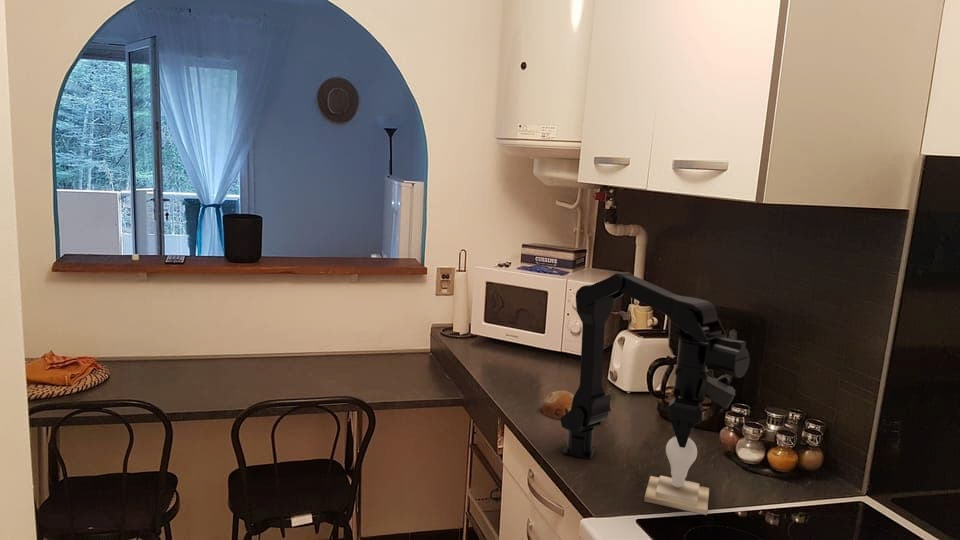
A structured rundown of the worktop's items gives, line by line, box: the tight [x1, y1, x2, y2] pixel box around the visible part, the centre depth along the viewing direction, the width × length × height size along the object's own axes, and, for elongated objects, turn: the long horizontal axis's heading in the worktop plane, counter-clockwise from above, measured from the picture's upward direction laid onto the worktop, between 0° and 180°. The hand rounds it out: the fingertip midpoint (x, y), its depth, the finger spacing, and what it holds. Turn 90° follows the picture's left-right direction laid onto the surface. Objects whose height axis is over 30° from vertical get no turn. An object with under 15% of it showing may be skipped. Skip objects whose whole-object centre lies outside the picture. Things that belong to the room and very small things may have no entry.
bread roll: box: [541, 390, 575, 421], centre depth 180 cm, size 10×10×8 cm
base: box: [643, 475, 710, 516], centre depth 138 cm, size 10×12×2 cm
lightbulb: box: [665, 435, 698, 488], centre depth 137 cm, size 6×6×11 cm
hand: (683, 438), depth 136 cm, fingers open, 9 cm apart
